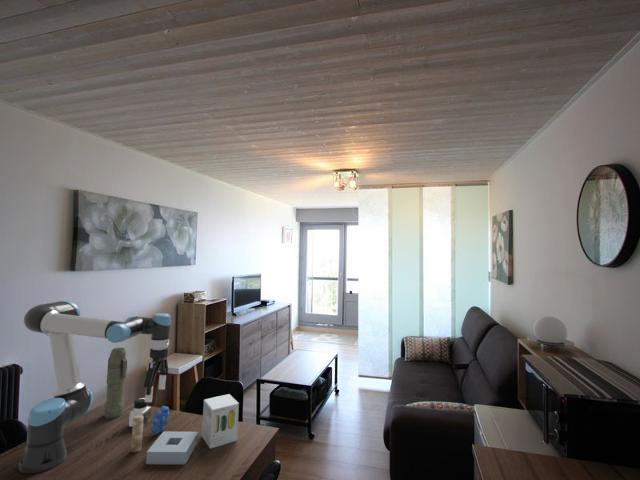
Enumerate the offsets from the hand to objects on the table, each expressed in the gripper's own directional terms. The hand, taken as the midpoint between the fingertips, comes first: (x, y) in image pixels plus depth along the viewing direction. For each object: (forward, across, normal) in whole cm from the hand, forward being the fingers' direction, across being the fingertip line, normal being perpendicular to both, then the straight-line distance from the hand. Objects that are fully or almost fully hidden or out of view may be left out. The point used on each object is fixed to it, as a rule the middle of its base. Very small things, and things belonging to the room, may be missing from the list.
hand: (155, 395), depth 148 cm
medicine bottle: (+24, +21, +15) cm, 35 cm away
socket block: (+23, -4, -12) cm, 26 cm away
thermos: (+24, +31, +33) cm, 51 cm away
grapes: (+23, +13, +2) cm, 27 cm away
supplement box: (+23, +8, -29) cm, 37 cm away
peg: (+23, -2, +6) cm, 24 cm away
